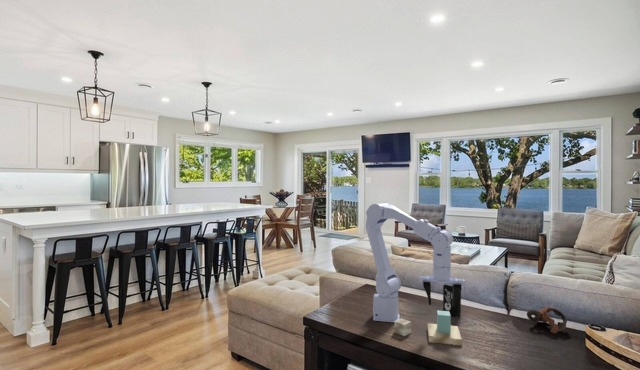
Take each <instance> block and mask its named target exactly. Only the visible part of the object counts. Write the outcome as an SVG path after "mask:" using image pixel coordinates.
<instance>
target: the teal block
mask: <svg viewBox="0 0 640 370" xmlns="http://www.w3.org/2000/svg"><path fill="white" fill-rule="evenodd" d="M451 318H452V316H451V315H450V312H449V311H443V310H436V324H437V330H438V333H446V334H451V326H452V324H451V322H452V319H451Z"/></svg>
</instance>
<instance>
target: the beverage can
mask: <svg viewBox="0 0 640 370" xmlns="http://www.w3.org/2000/svg"><path fill="white" fill-rule="evenodd" d="M442 285H443V286H442V288H443V289H442V311H449V312H450V315H451V317H456V316H459V315H461V314H462V291H461V292H460V293H459V295H458V297H457V300H456V303H455V307H453V306H452V296H453V290H452V285H447V284H442Z"/></svg>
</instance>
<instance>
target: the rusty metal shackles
mask: <svg viewBox="0 0 640 370" xmlns="http://www.w3.org/2000/svg"><path fill="white" fill-rule="evenodd" d="M550 312H553V313H554V315H555V316H558V317H561V319H562V321H561V322H559V321H558V322H557V323H555V322H556V321H555V319H554V318H552V317H551V316H550V315H549V313H550ZM526 316H527V319H528V320H529V321H530V322H532V323H533V325H535V326H537V325H538V322H541V323H544V324H547V323H548V324H549V325H550V326H552V327H551V329H550V333H552V334H554V335H555V334H557V333H558V332H562V331H563V330H565V329H566V328H567V322H568V319H567V317H566V315H565V314H564V313H563V312H562V311H560V310H559V309H557V308H554V307H550V306H546V307H545V308H542V309H539V310H538V311H537V310H536V309H530V310H528V311H527V312H526Z"/></svg>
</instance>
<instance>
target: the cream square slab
mask: <svg viewBox="0 0 640 370" xmlns="http://www.w3.org/2000/svg"><path fill="white" fill-rule="evenodd" d="M427 336H428V343H433V344H435V343H437V344H444V345H451V344H452V346H453V345H454V346H462V345H463V340H462V339H463V338H462V335H461V332H460V329H459V326H457V325H451V334H446V333H438V330H437V323H431V322H430V323H428V322H427Z"/></svg>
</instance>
